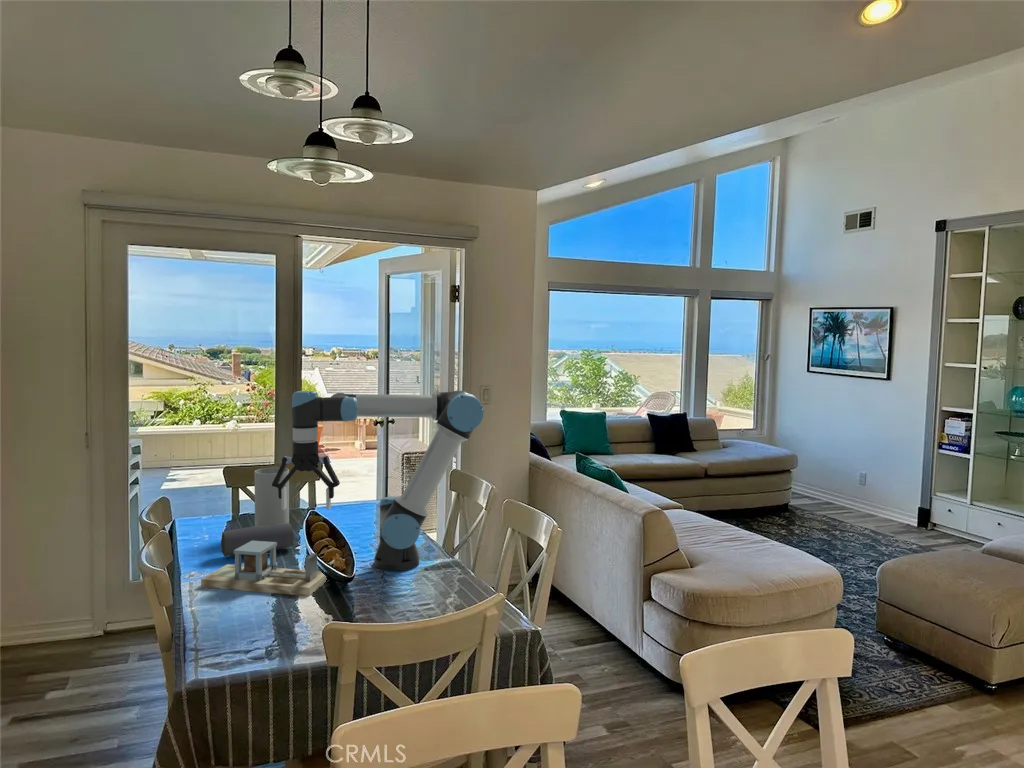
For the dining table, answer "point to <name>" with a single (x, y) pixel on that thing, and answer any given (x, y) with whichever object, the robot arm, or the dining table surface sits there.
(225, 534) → the bluetooth speaker
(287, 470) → the cylinder vase
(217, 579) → the platform
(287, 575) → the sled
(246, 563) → the block
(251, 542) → the tunnel
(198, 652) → the dining table surface
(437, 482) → the robot arm
